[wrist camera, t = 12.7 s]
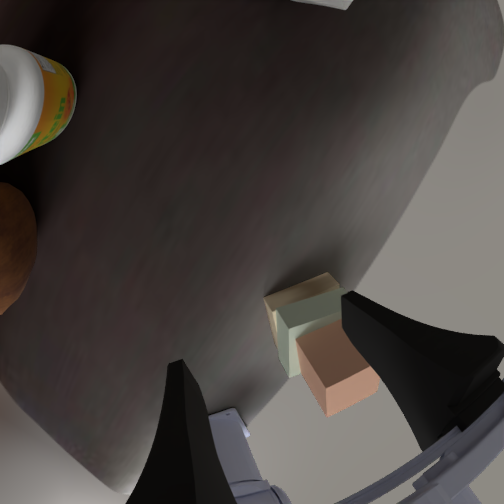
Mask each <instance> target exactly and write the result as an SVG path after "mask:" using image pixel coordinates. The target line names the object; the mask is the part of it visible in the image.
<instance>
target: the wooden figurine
mask: <svg viewBox="0 0 504 504" xmlns="http://www.w3.org/2000/svg"><path fill="white" fill-rule="evenodd" d="M36 255H37V225H36V219H35V214H34V211H33V209H32V207H31V205H30V202H29V201H28V199H27V198H26V197H25V195H24V194H23V193H22V191H20V190H18V189H17V188H15V187H13V186H12V185H10V184H9V183H1V182H0V315H2V314H3V312H4V311H5V310H6V309H7V308H8V307H9V306H10V305H11V304H12V303H13V302H15V301H16V300H17V299H18V298H19V296H20V294H21V293H22V291H23V289H24V287H25V285H26V283H27V280H28V278H29V276H30V273H31V271H32V268H33V266H34V263H35V259H36Z"/></svg>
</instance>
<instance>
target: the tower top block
mask: <svg viewBox="0 0 504 504" xmlns="http://www.w3.org/2000/svg"><path fill="white" fill-rule="evenodd" d="M346 293H348V292H347V291H346V290H345V289H344V288H343V287H342V288H339V289H336V290H332V291H329V292H326V293H323V294H320V295H317V296H314V297H311V298H307V299H304V300H301V301H298V302H295V303H291V304H288V305H285V306H281V307H278V308H276V322H277V340H278V358H279V360H280V362H281V364H282V366H283V367H284V369H285V371H286V373H287V375H288V377H289V378H291V377H294V376H297V375H300V374H301V371H300V365H299V359H298V353H297V347H296V341H295V339H297V338H299V337H301V336H304V335H306V334H308V333H311V332H313V331H315V330H318V329H320V328H322V327H324V326H327V325H329V324H331V323H333V322H335V321H338V320H340V319H342V316H341V295H344V294H346Z"/></svg>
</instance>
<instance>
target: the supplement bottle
mask: <svg viewBox="0 0 504 504" xmlns="http://www.w3.org/2000/svg"><path fill="white" fill-rule="evenodd" d="M76 98H77V92H76V85H75V82H74V79H73V77H72V75H71V74H70V72H69V71H68V70H67V69H66V68H65V67H64V66H63V65H61V64H59V63H58V62H56V61H53V60H51V59H48V58H46V57H43V56H41V55H38V54H36V53H33V52H31V51H28V50H25V49H23V48H20V47H17V46H13V45H0V165H1V164H4V163H5V162H8V161H10V160H11V159H13V158H15V157H17V156H19V155H21V154H24V153H26V152H28V151H30V150H32V149H35V148H37V147H39V146H42V145H44V144H46V143H48V142H50V141H51V140H53V139H54V138H56V137H57V136H58V135H59V134H60V133H61V132H62V131H63V130H64V129H65V127H66V126H67V125H68V123H69V121H70V119H71V117H72V115H73V113H74V110H75V105H76Z"/></svg>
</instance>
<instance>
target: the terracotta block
mask: <svg viewBox="0 0 504 504" xmlns="http://www.w3.org/2000/svg"><path fill="white" fill-rule="evenodd" d="M295 341H296V347H297V353H298V359H299V365H300V371H301V374H302V376H303V377H304V379H305V381H306V383H307V384H308V386H309V388H310V389H311V391H312V393H313V395H314V396H315V398H316V400H317V402H318V403H319V405H320V406H321V408H322V410H323V412H324V414H325V415H326V417H329V416H331V415H333V414H336V413H338V412H339V411H341V410H344V409H346V408H347V407H349V406H351V405H353V404H355V403H357V402H359V401H361V400H363V399H365V398H366V397H368V396H370V395H372V394H374V393H375V392H377V390H378V385H379V380H380V377H379V376H378V374H377V373H376V372H375V371H374V370H373V368H372V367H371V366H370V365H369V364H368V363H367V361H366V360H365V359H364V358H363V357H362V355H361V354H360V353H359V352H358V351H357V349H356V348H355V347H354V346H353V344H352V343H351V341H350V340H349V338H348V337H347V335H346V333H345V332H344V330H343V329H342V319H340V320H338V321H335V322H333V323H331V324H329V325H327V326H324V327H322V328H320V329H318V330H315V331H313V332H311V333H308V334H306V335H304V336H301V337H299V338H297V339H295Z"/></svg>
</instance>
